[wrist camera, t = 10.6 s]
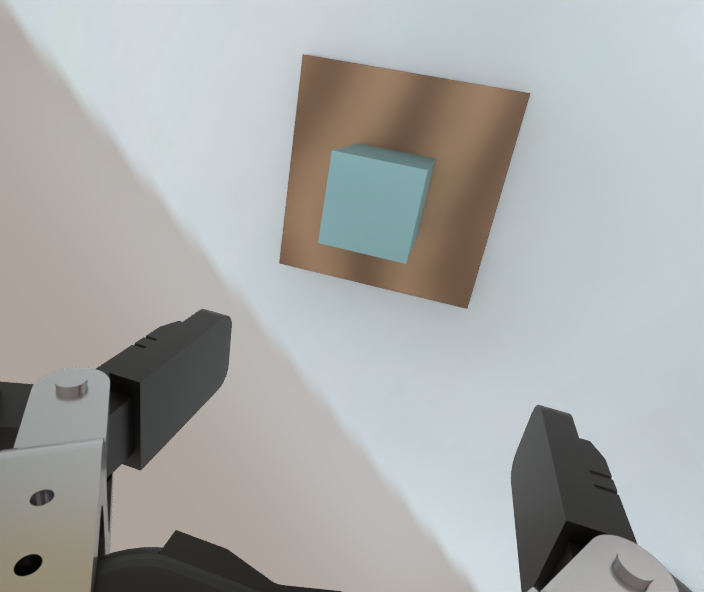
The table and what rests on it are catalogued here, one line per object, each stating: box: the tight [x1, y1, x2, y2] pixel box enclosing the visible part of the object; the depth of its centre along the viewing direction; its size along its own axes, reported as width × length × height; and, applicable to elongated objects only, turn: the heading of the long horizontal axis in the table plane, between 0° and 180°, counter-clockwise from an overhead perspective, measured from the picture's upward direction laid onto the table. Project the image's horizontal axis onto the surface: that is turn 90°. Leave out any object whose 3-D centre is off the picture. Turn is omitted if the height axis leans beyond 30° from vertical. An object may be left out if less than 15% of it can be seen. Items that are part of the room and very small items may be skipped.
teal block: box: [318, 143, 436, 264], centre depth 28 cm, size 5×5×7 cm
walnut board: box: [279, 54, 530, 309], centre depth 31 cm, size 14×14×1 cm
